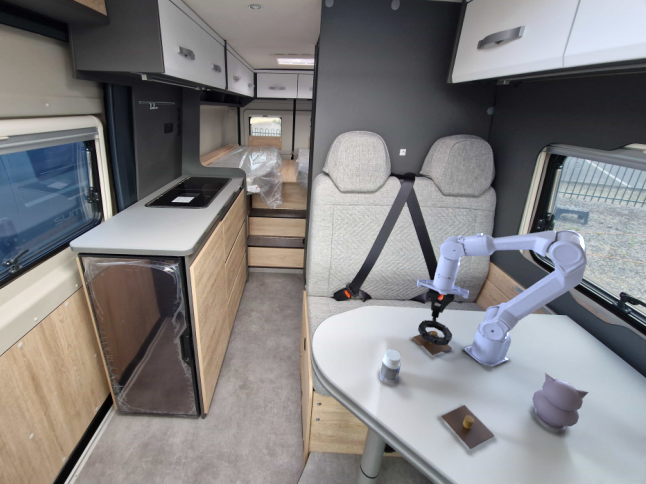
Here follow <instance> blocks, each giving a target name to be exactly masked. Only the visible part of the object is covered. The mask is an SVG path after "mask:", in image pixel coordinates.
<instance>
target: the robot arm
mask: <svg viewBox="0 0 646 484" xmlns="http://www.w3.org/2000/svg"><path fill="white" fill-rule="evenodd" d="M524 250H526V251H529V250H531V251H533V252H534V253H537V254H538V255H540V256H542V257H544V258H545V257H546V254H548V256H549V258H550V260H551V261H552V263H553V265H554V270H553V271H552V272H551V273H549V274H547V275H546V276H544V277H543V278H541V279H540V280H539V281H537V282H535V283H534V284H532V285H531V286H529V287H528V288H526V289H525V290H523V291H522V292H520V293H519V294H517V295H516V296H514V297H513V298H512V299H510V300H508V301H507V302H501V303H499V304H497V305H491V306H489V307H487V308H486V310H485V313H484V316H483V319H482V322H481V323H479V324H478V327H477V330H476V333H475V335H474V339H473V342H472V344H471V345H469V346H467V347H464V349H463V351H465V352H466V353H467V354H468V355H470V356H471V357H472V358H473V359H474V360H475V361H477V362H478V363H479V364H482V365H484V366H485V365H486V366H488V367H491V368H492V367H493V368H494V367H496V366H499V365H500V364H503V363H505V362H507V361H509V358H508V357H507V355H508V354H507V353H508V352H509V349H510V346H511V343H512V337H511V334H510V333H509V332H511V331H512V330H513V329H514V328H515V327H516V325H518V323H519V322H520V321H521V320H522V319H523V320H524V318H526V317H528V316H529V315H531V314H533V313H534V312H535V311H537V310H539V309H541V308H543V307H544V306H546V305H548V304H549V303H551V302H553V301H554V300H556V299H557V298H559V297H560V296H562V295H564V294H566V293H567V292H569V291H570V290H572V289H573V288H576V287H577V286H578V285H580V284H581V283H582V281H583V277H584V274H585V271H586V267H587V264H588V258H587V249H586V246H585V240H584V238H583V236H582V235H581V234H580V233H578V232H577V231H574V230H570V229H561V230H558V231H557V230H545V231H540V232H539V231H538V232H532V233H524V234H523V233H522V234H515V235H509V236H508V235H507V236H501V237H493V236H491V235H490V234H483V232H477V233H476V234H475V235H466V236H463V234H462V235H458V236H457V235H451V236H448V237H447V238H445V240H444V241H443V242H442V243H441V245H440V248H439V252H440V255H439V257H438V263H437V266H436V269H435V273H434V278H433V279H421V278H418V279H417V282H416V287H417V288H425V289H428V295H429V298H430V310H431V312H432V311H434V306H435V305H436V302H437V298H438V293H439V294H440V295H442V300H441V303H440V305H439V306H441V309H440V313H439V314H442V313H443V312H444V310H445V309H446V308H447V306H448V305H450V304H451V303H452V302H454V300H455V296H458V297H463V299H469V296H470V292H469V290H468V289H466V288H462V287H460V286H457V285H455V283H456V279H457V276H458V272H459V268H460V265H461V258H462V257H480V256H492V255H493V254H494V253H495V252H496V251H524Z"/></svg>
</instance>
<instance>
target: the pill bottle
mask: <svg viewBox="0 0 646 484" xmlns="http://www.w3.org/2000/svg"><path fill="white" fill-rule="evenodd" d="M401 359H402V355H401V353H400V352H399V351H397V350H395V349H392V348H390V349H387V350H386V351H385V353H384V355H383V356H382V360H381V366H380V371H379V379H380V380H381V381H383V380H384V382H385V381H386V382H387V383H396V382H397V381H398V379H399V374H400V371H401V368H402V367H401V366H402V362H401V361H402V360H401Z"/></svg>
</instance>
